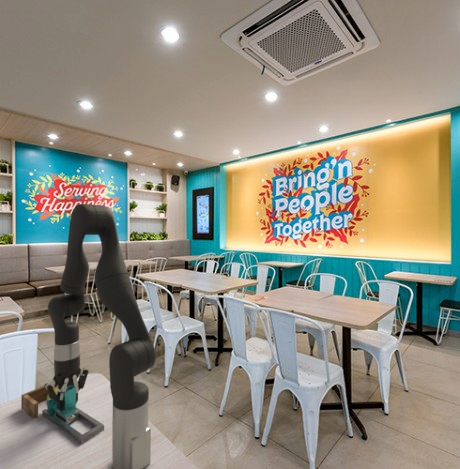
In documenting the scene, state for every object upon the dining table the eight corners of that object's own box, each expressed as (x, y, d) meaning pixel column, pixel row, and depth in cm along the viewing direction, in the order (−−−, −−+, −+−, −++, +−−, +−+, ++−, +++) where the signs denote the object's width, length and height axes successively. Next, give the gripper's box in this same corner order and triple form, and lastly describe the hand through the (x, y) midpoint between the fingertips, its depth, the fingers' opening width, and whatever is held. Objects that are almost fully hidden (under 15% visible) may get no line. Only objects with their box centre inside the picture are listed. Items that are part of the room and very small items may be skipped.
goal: (71, 400, 106) (71, 387, 106) (34, 419, 96) (34, 404, 96) (58, 392, 111) (58, 379, 111) (21, 409, 101) (21, 395, 101)
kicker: (85, 415, 98) (85, 385, 97) (60, 429, 91) (60, 397, 91) (71, 406, 102) (71, 378, 102) (47, 419, 95) (47, 388, 95)
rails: (104, 429, 91) (104, 425, 91) (81, 444, 85) (81, 439, 85) (64, 404, 104) (64, 399, 104) (42, 415, 98) (42, 410, 98)
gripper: (50, 366, 88) (50, 422, 88) (93, 350, 100) (94, 399, 100) (38, 360, 92) (38, 414, 92) (81, 345, 104) (82, 393, 104)
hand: (67, 406), depth 96 cm, fingers closed on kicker, 3 cm apart
